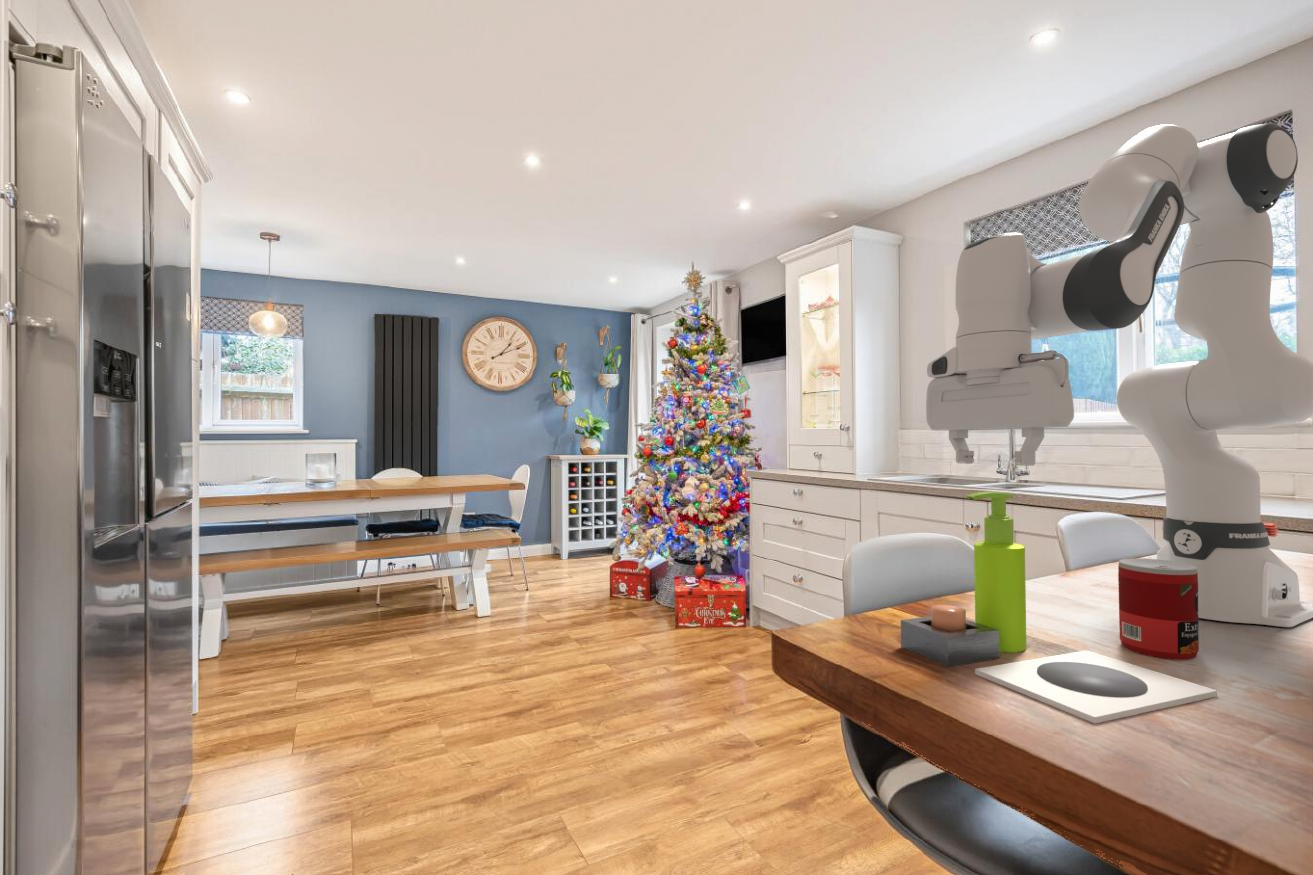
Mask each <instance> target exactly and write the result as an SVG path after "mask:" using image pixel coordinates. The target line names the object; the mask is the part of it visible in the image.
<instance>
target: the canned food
mask: <svg viewBox="0 0 1313 875" xmlns="http://www.w3.org/2000/svg"><path fill="white" fill-rule="evenodd" d="M1117 570H1118V573H1117V580H1118V617H1119V618H1118V622H1119V623H1118V624H1119V640H1120V643H1121V645H1122V647H1123V648H1125V649H1126V650H1128V651H1130V652H1132V653H1136V654H1139V655H1142V656H1146V657H1151V658H1157V659H1163V660H1172V661H1188V660H1194V659H1196V657H1197V656H1198V653H1199V651H1200V645H1199V644H1200V642H1199V641H1200V640H1199V637H1200V636H1199V627H1200V626H1199V618H1198V572H1197V567H1195V566H1193V565H1190V564H1186V563H1181V562H1175V561H1167V560H1157V558H1156V559H1155V558H1138V557H1137V558H1136V557H1135V558H1131V557H1130V558H1123V559H1119V560H1118V569H1117Z"/></svg>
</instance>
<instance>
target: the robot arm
mask: <svg viewBox="0 0 1313 875" xmlns="http://www.w3.org/2000/svg"><path fill="white" fill-rule="evenodd" d="M1298 154H1299V153H1298V148H1297V145H1296V142H1295V140H1294V137H1293V136H1292V134H1291V133H1290V131H1288V130H1287V129H1286V128H1284V127H1282V126H1280V125H1279V124H1277V123H1274V122H1272V123H1271V122H1270V123H1260V124H1255V125H1250V126H1245V127H1242V128H1239V129H1238V130H1236V131H1235V132H1231V133H1227V134H1225V135H1224V134H1223V135H1221V136H1218V137H1214V138H1211V139H1209V140H1205V141H1202V142H1198V141H1197V138H1196V137H1195V136H1194V135H1193V133H1192V132H1190V131H1189V130H1188V129H1186V128H1185V127H1182V126H1179V125H1175V124H1160V125H1155V126H1151V127H1148V128H1146V129H1144V130H1142V131H1141V132H1139V133H1138V134H1137V135H1135V136H1133V137H1132V138H1131V139H1129V140H1128V141H1127V142H1126V143H1124V144H1123V145H1122V146H1121V147H1120V148H1118V150H1116V151H1115V152H1114V153H1113V154H1112V155H1111V156H1110V157H1109V158H1108V159H1107V160H1106V161H1105V162H1104V163H1103V164H1102V166H1101V167H1100V168H1099V169H1098V170H1097V172H1096V173H1095V174H1094V175H1093V177H1092V178H1091V179H1090V180H1089V181H1088V183H1087V184H1086V185H1085V187H1084V189H1083V191H1082V194H1081V196H1080V198H1079V202H1078V211H1079V215H1080V219H1081V221H1082V223H1083V224H1084V226H1085V227H1086V229H1087V230H1088V231H1089V232H1091V234H1093V235H1094V236H1096V237H1097V238H1099V239H1101V240H1103V241H1107V242H1111V243H1110V244H1107V245H1105V246H1102V247H1099V248H1096V249H1094V250H1091V251H1090V252H1086V253H1083V254H1080V255H1076V256H1073V257H1070V258H1066V259H1063V260H1058V261H1056V262H1052V263H1049V264H1047V263H1045V262H1043V261H1041V260H1039V259H1038V258H1036V257H1035V256H1034V255H1033V254H1032V253H1031V252H1030V251H1029V249H1028V245H1027V244H1028V243H1027V241H1026V238H1025V235H1024V234H1023V233H1019V232H1005V233H999V234H995V235H992V236H987V237H983V238H982V239H978V240H976V241H973V242H971V243H969V244H967V245H966V246H965V247H964V248H963V249H962V251H961V254H960V255H959V258H958V262H957V268H956V278H955V279H956V280H955V309H956V310H955V311H956V312H957V315H958V327H957V331H956V335H955V346H953V347H952V348H950V349H949V350H948V351H946V352H945V353H943V354H942V355H941V356H939V357H937V358H935V359H934V360H932V361H930V362H928V364H927V367H926V373H927V374H926V375H927V377H928V378H930V379H932V380H930V382H929V383H928V386H927V389H926V401H925V402H926V404H925V409H926V410H925V414H926V415H925V416H926V423H927V425H928V427H929V428H930V430H931V431H939V432H940V431H941V432H943V431H944V432H945V431H948V440H949V441H950V443H951V445H952V446H951V447H953V449H954V451H955V462H956V463H957V464H959V465H961V464H967V465H968V464H969V465H970V464H974V461H975V458H974V456H975V450H970V448H969V445H968V444H967V441H966V439H968V438H969V431H977V430H978V431H979V430H981V431H982V430H985V431H986V430H1011V429H1013V430H1015V429H1016V430H1018V429H1020V430H1021V437H1022V438H1025V439H1024V441H1023V443H1022V446H1021V448H1020V450H1016V451H1014V458H1015V459H1014V464H1015V465H1016V466H1027V467H1029V466H1031V467H1033V466H1035V465H1036V452H1037V450H1038V449H1039V448H1040V445H1041V444H1042V442H1043V440H1044V438H1045V428H1046V429H1048V428H1049V429H1050V428H1051V429H1054V428H1068V427H1069V426H1070V425H1071V423H1072V422H1073V421H1074V418H1075V410H1074V398H1073V397H1074V396H1073V391H1072V386H1071V381H1070V378H1069V377H1070V376H1069V374H1070V370H1069V369H1070V368H1069V366H1070V365H1069V361H1068V358H1066V356H1064V355H1063V354H1062V353H1059V352H1058V351H1056V350H1053V349H1052V350H1045V351H1042V352H1032V350H1033V349H1032V345H1033V344H1032V343H1033V342H1032V341H1034V340H1041V339H1045V338H1046V339H1047V338H1053V337H1060V336H1061V337H1062V336H1065V335H1072V334H1079V333H1084V332H1092V331H1106V330H1118V329H1119V330H1120V329H1124V328H1126V327H1128V326H1130V325H1132V324H1133V323H1134V322H1136V321H1137V320H1138V319H1139V318H1140V317H1141V315H1142V314H1143V313H1144V312H1145V310H1146V309H1147V307H1148V306H1149V304H1150V302H1151V301H1152V298H1153V295H1154V289H1155V286H1156V285H1155V284H1156V277H1157V275H1158V272H1159V270H1160V268H1161V266H1162V264H1163V263H1164V262H1163V261H1164V259H1165V257H1166V256H1167V253H1168V251H1169V250H1170V248H1171V245H1172V243H1173V241H1174V239H1175V237H1176V234H1177V232H1178V230H1179V228H1180V225H1185V224H1188V226H1189V230H1190V232H1189V235H1188V237H1187V240H1186V243H1185V246H1184V250H1183V253H1182V258H1181V262H1180V269H1179V273H1178V275H1179V276H1178V282H1177V290H1176V297H1175V298H1176V299H1175V307H1174V315H1173V316H1174V318H1173V319H1174V322H1175V323H1176V325H1177V326H1178V328H1179V329H1180V330H1181V331H1182V332H1184V333H1185V334H1187V335H1189V336H1190V337H1194V338H1196V339H1199V340H1202V341H1204V342H1205V341H1206V343H1207V349H1208V351H1207V356H1206V358H1204V359H1199V360H1197V359H1196V360H1189V361H1181V362H1169V363H1161V364H1158V365H1154V366H1149V367H1146V368H1143V369H1140V370H1138V371H1134V372H1131V373H1129V374H1128V375H1126V376H1125V377H1124V379H1123V380H1122V382H1121V383H1120V385H1119V387H1118V389H1117V394H1116V405H1117V409H1118V411H1119V413H1120V415H1121V417H1122V418H1123V419H1124V421H1126V422H1127V423H1128V424H1129V425H1130V426H1132V427H1134V428H1135V429H1136V430H1138V431H1139V432H1140V433H1141V434H1143V435H1144V437H1145V438H1146V439H1147V440H1148V442H1149V443H1150V444H1151V445H1152V448H1153V449H1154V451H1155V452H1156V455H1157V456H1158V459H1159V461H1160V464H1161V467H1162V468H1161V469H1162V472H1163V478H1164V479H1163V480H1164V488H1165V489H1164V490H1165V492H1164V493H1165V507H1166V508H1165V510H1166V512H1165V513H1166V516H1165V517H1163V519H1162V526H1161V530H1162V539H1163V540H1164V541H1165V544H1164V545H1163V546H1162V547H1161V548H1160V549H1158V550H1157V552H1156V559H1157V560H1167V561H1175V562H1181V563H1186V564H1190V565H1193V566H1195V567H1197V572H1198V619H1204V620H1210V621H1211V620H1212V621H1219V622H1228V623H1235V624H1237V623H1238V624H1239V623H1241V624H1255V625H1263V626H1264V625H1266V626H1273V627H1282V628H1293V627H1295V626H1297V625H1299V624H1301V623H1304V622H1306V621H1309V620H1311V619H1312V618H1313V604H1312V603H1309V602H1305V601H1301V599H1300V583H1299V578H1298V577H1299V576H1298V573H1297V572H1296V571H1294V570H1293V568H1291V566H1289V565H1288V564H1286V562H1284V561H1283V560H1282V559H1281V558H1279V556H1278V555H1277V554H1276V553H1274V551H1272V550H1271V549H1270V548H1269V546H1270V545H1271V542H1270V539H1269V537H1272V538H1273V537H1274V538H1276V537H1277V536H1278V534H1279V527H1278V525H1277V523H1271V522H1270V523H1265V522H1263V521H1262V520H1261V477H1260V474H1259V472H1258V471H1257V470H1256V468H1255V467H1254V466H1253V465H1252V464H1251V463H1250V462H1249V461H1247V460H1246V459H1244V458H1241V457H1239V456H1236V455H1234V454H1233V453H1230V452H1229V451H1227V449H1225V448H1224V446H1223V445H1222V444H1221V441H1220V440H1219V438H1218V434H1217V431H1218V430H1257V429H1258V430H1260V429H1261V430H1263V429H1268V428H1275V427H1281V426H1286V425H1291V424H1294V423H1295V424H1296V423H1301V422H1304V421H1306V420H1307V419H1309V418H1310V417H1311V416H1313V362H1312V361H1311V360H1309V359H1308V358H1306V357H1305V356H1303V355H1301V354H1299V353H1296V352H1295V351H1293V350H1291V349H1290V348H1289V347H1288V346H1286V344H1284V343H1283V341H1281V339H1280V338H1279V337H1278V335H1277V334H1276V331H1275V330H1274V327H1273V323H1272V319H1271V309H1270V308H1271V286H1272V277H1273V276H1272V274H1273V266H1274V236H1273V228H1272V223H1271V218H1270V216H1269V213H1268V211H1269V210H1270V209H1271V208H1273V207H1274V206H1275V205H1276V204H1277V203H1278V201H1279V199H1280V196H1281V194H1283V192H1285V190H1286V189H1287V188H1288V186H1289V185H1290V183H1291V182H1292V179H1293V177H1294V176H1295V173H1296V171H1297V167H1298V161H1299V160H1298V157H1299V155H1298Z"/></svg>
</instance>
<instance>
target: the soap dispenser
mask: <svg viewBox="0 0 1313 875" xmlns="http://www.w3.org/2000/svg"><path fill="white" fill-rule="evenodd" d="M1013 495H1014V494H1013V493H1007V492H1000V491H999V492H996V491H979V492H974V493H970V494H967V495H965V497H966V498H967V499H968V500H974V501H979V500H982V499H989V498H990V501H991V502H990V503H991V505H990V507H991V508H990V510H991V512H990V513H991V514H988V516H985V517H984V518H983V519H984V520H983V521H984V522H983V523H984V524H983V525H984V527H983V528H984V540H983V541H977V542H975V543H974V544H973V551H974V552H973V555H974V556H973V557H974V559H973V562H974V563H973V564H974V568H973V569H974V622H976V623H979V624H982V625H985V626H988V627H991V628H994V629H998V630H999V653H1001V652H1002V653H1021V652H1024V651H1026V650H1027V603H1026V602H1027V601H1026V600H1027V597H1026V596H1027V595H1026V592H1027V589H1026V587H1027V586H1026V547H1025V545H1023V544H1020V543H1016V542H1015V538H1014V537H1015V536H1014V518H1012V517H1010V515H1007V501H1006V500H1007V499H1013V498H1014V496H1013Z"/></svg>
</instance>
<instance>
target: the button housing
mask: <svg viewBox="0 0 1313 875" xmlns="http://www.w3.org/2000/svg"><path fill="white" fill-rule="evenodd" d="M900 648H903V649H905V650H907V651H909V652H913V654H917V655H918V656H922V657H924V658H926V659H929V660H932V661H933V662H936V663H938V664H940V665H943V666H945V667H946V668H947V667H948V668H949V667H954V666H955V667H956V666H960V665H961V666H962V665H963V666H964V665H968V664H969V665H970V664H974V663H980V662H986V661H992V660H999V659H1000V651H999V630H998V629H994V628H991V627H988V626H985V625H982V624H979V623H976V622H975V621H972V620H969V619H966V630H962V631H955V632H945V631H943V630H940V629H937V628H934V627H931V615H928V616H921V617H915V618H907V619H900Z"/></svg>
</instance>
